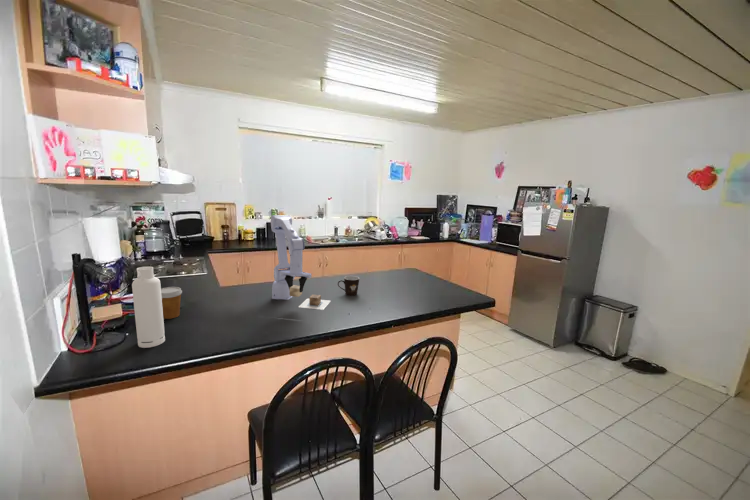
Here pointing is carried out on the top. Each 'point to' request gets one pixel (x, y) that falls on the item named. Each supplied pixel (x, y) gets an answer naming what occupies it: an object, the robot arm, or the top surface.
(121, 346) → the top surface
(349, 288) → the coffee mug
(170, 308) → the disposable coffee cup
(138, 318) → the bottle
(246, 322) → the top surface
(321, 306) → the board
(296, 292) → the maple block
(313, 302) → the walnut block
